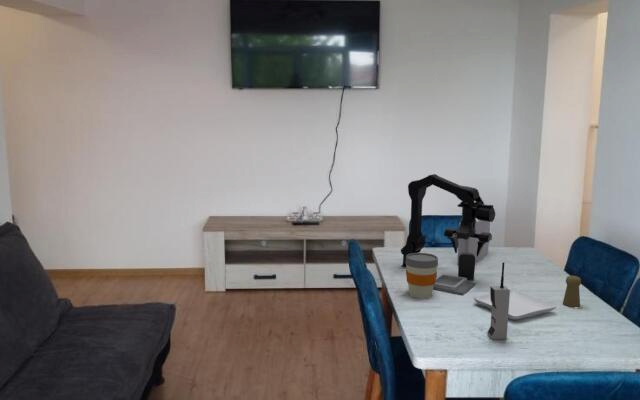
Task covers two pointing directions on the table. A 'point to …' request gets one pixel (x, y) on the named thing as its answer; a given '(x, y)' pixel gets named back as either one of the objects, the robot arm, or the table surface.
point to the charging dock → (453, 284)
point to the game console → (475, 241)
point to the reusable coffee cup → (421, 274)
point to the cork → (572, 292)
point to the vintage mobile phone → (499, 310)
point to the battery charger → (466, 265)
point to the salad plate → (519, 304)
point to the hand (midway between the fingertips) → (466, 254)
